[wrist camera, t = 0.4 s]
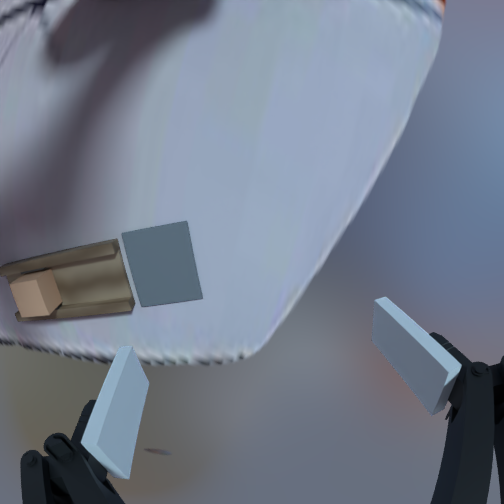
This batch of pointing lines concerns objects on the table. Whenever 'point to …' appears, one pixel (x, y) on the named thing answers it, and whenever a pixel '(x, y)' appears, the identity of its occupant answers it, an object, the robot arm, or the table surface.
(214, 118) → the table surface
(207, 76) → the table surface
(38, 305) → the block
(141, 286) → the mat
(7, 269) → the chute
